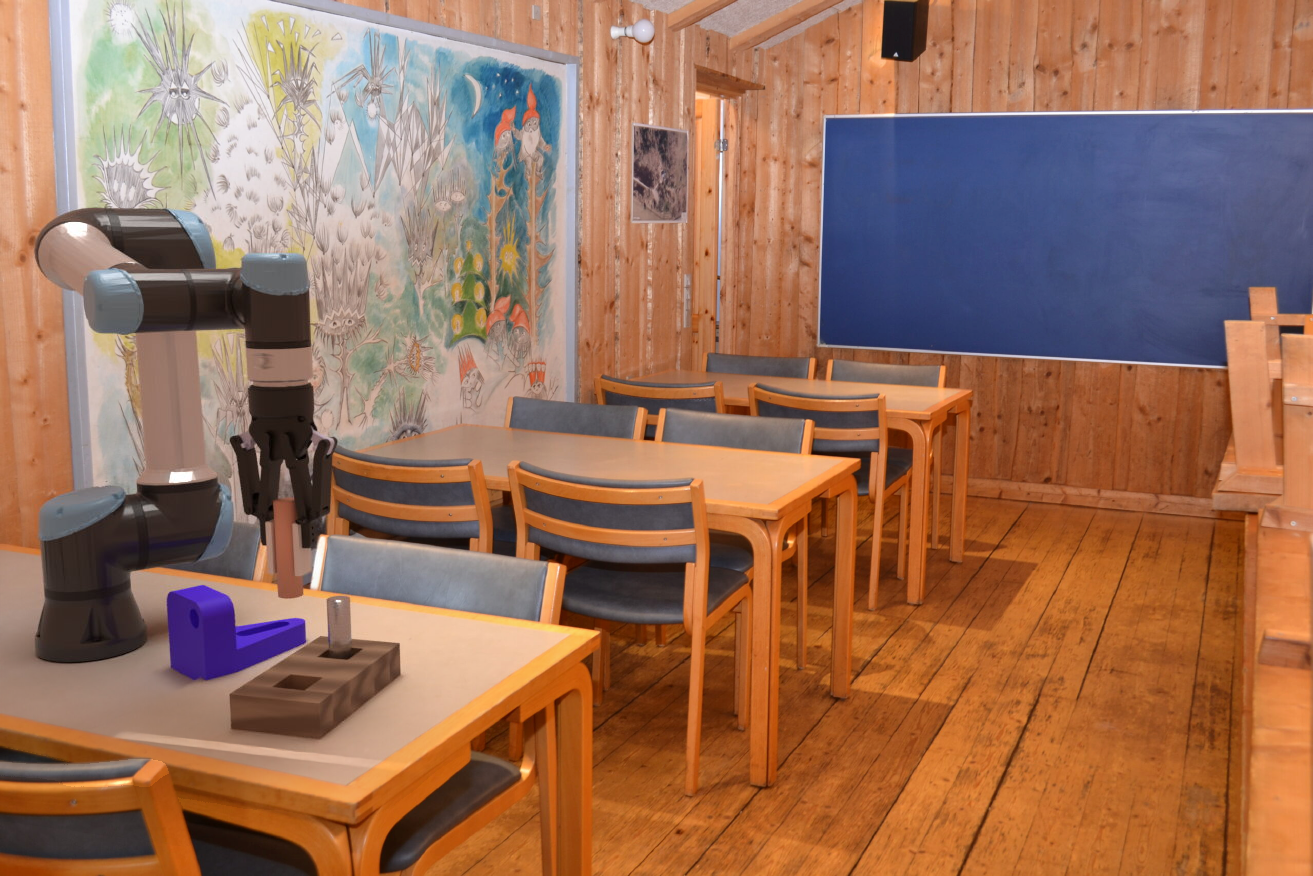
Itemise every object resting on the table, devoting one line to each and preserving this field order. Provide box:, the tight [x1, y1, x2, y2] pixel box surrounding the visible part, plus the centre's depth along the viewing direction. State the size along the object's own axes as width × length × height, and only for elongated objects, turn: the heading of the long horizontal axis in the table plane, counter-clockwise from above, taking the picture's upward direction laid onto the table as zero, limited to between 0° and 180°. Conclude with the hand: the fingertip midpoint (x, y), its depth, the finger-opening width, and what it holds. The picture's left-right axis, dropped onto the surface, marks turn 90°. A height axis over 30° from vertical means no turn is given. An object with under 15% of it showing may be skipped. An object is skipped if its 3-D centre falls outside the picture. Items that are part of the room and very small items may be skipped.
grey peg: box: [326, 595, 353, 660], centre depth 156 cm, size 3×3×12 cm
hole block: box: [229, 635, 401, 740], centre depth 152 cm, size 22×12×6 cm, turn 167°
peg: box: [273, 496, 304, 600], centre depth 143 cm, size 3×3×12 cm
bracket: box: [166, 584, 307, 682], centre depth 168 cm, size 18×11×12 cm, turn 137°
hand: (290, 571), depth 143 cm, fingers closed on peg, 3 cm apart
